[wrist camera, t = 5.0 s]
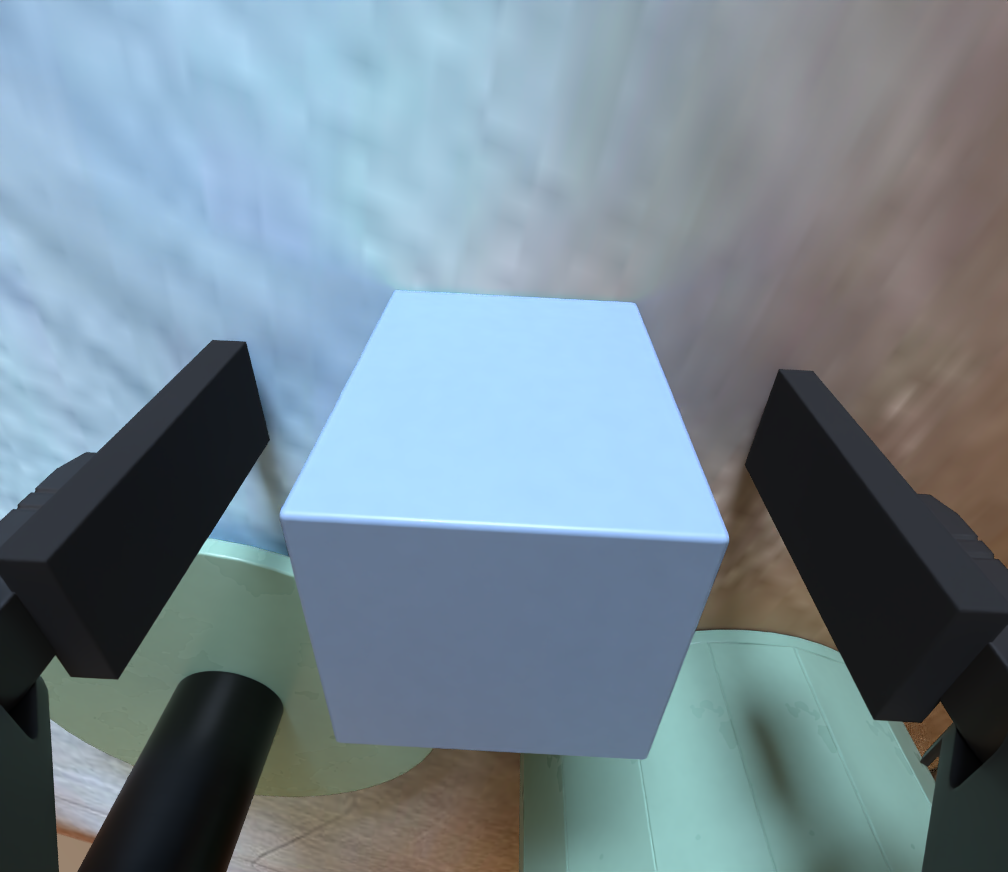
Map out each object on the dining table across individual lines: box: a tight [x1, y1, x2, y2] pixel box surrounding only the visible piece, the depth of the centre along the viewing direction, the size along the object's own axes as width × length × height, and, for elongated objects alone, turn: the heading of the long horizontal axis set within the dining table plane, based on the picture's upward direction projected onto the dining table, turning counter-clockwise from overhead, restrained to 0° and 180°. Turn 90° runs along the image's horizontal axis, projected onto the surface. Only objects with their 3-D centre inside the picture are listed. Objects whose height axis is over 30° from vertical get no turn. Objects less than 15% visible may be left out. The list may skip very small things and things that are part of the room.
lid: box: [40, 538, 433, 872], centre depth 17 cm, size 15×15×9 cm
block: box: [279, 290, 729, 760], centre depth 11 cm, size 5×5×7 cm
